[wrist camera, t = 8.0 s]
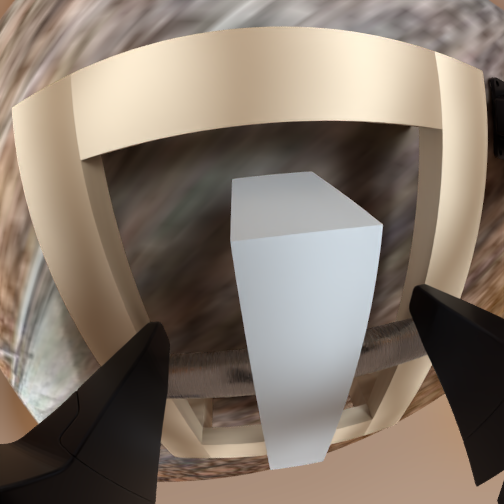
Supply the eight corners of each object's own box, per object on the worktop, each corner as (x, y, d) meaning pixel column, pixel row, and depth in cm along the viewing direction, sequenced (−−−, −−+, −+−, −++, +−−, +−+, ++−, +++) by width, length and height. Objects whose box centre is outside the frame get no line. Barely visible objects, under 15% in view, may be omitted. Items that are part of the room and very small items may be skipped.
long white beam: (311, 171, 10) (382, 224, 5) (306, 390, 16) (322, 461, 11) (232, 178, 10) (230, 241, 5) (262, 397, 16) (270, 469, 11)
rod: (433, 302, 11) (455, 327, 9) (423, 332, 12) (441, 357, 10) (120, 345, 11) (107, 378, 9) (136, 373, 12) (127, 404, 10)
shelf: (408, 78, 11) (482, 71, 6) (373, 374, 22) (396, 424, 16) (85, 107, 11) (11, 108, 5) (181, 400, 21) (174, 456, 16)
